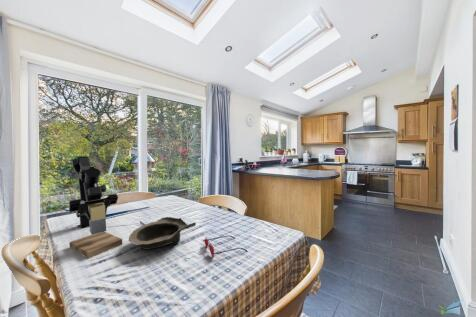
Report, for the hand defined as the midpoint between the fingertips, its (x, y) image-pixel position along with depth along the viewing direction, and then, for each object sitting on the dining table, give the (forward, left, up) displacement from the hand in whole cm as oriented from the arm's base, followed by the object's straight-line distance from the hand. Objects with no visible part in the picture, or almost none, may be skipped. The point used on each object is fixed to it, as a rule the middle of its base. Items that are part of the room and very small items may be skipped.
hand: (97, 217), depth 94 cm
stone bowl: (+21, +16, -14) cm, 30 cm away
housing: (-1, 0, -7) cm, 7 cm away
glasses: (+51, +28, -14) cm, 60 cm away
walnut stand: (-2, 0, -13) cm, 13 cm away
